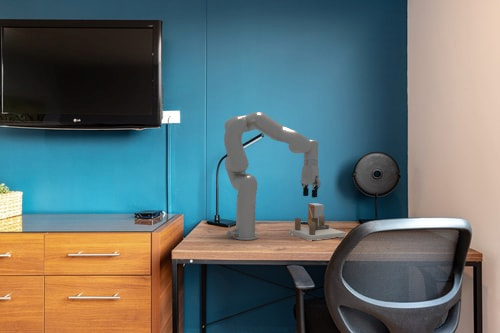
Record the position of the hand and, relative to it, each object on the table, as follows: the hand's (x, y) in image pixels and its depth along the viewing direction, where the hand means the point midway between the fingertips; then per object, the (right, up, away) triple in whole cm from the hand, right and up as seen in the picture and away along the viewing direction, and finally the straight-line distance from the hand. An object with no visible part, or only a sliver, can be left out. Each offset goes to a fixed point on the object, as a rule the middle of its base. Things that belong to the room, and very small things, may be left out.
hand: (310, 196), depth 183 cm
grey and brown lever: (+5, -17, -2) cm, 18 cm away
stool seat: (+3, -20, -5) cm, 21 cm away
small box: (+7, -20, +21) cm, 29 cm away
